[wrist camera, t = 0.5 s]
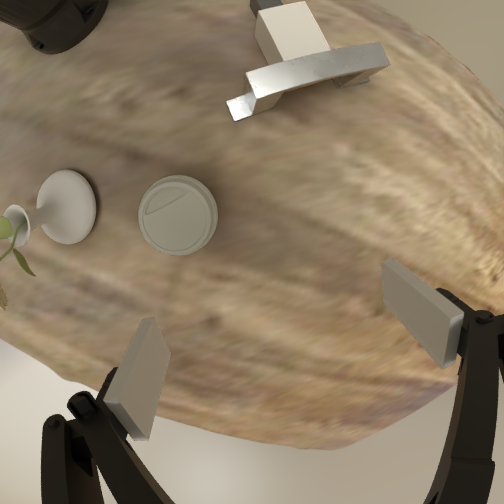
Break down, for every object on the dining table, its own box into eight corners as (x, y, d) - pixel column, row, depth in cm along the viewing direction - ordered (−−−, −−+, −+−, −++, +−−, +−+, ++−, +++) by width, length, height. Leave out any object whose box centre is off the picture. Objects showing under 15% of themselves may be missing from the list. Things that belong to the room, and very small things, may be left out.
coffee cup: (225, 174, 39) (221, 180, 27) (219, 235, 41) (212, 264, 30) (164, 169, 38) (135, 173, 27) (160, 229, 41) (132, 255, 29)
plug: (240, 8, 31) (241, -19, 24) (278, -1, 31) (286, -28, 23) (281, 94, 36) (292, 79, 28) (320, 83, 35) (339, 67, 28)
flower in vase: (34, 191, 37) (-82, 227, 14) (83, 155, 37) (-46, 165, 13) (66, 261, 41) (-34, 340, 17) (117, 232, 40) (11, 311, 17)
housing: (226, 102, 36) (222, 81, 25) (360, 64, 35) (395, 40, 24) (234, 122, 37) (233, 107, 26) (368, 81, 35) (406, 62, 25)
